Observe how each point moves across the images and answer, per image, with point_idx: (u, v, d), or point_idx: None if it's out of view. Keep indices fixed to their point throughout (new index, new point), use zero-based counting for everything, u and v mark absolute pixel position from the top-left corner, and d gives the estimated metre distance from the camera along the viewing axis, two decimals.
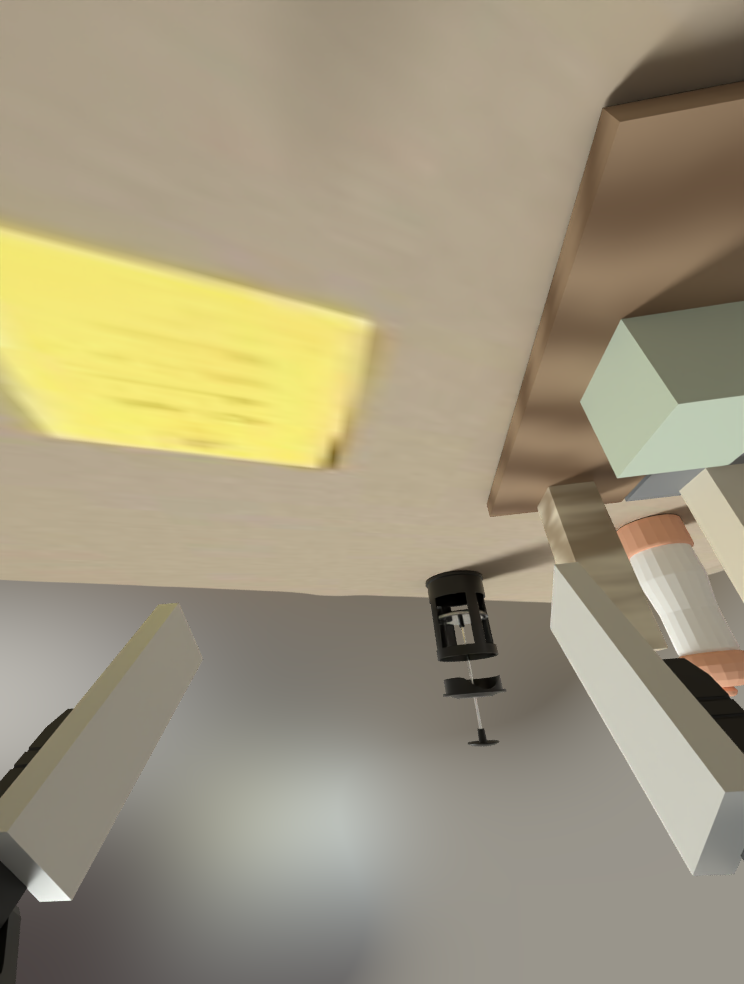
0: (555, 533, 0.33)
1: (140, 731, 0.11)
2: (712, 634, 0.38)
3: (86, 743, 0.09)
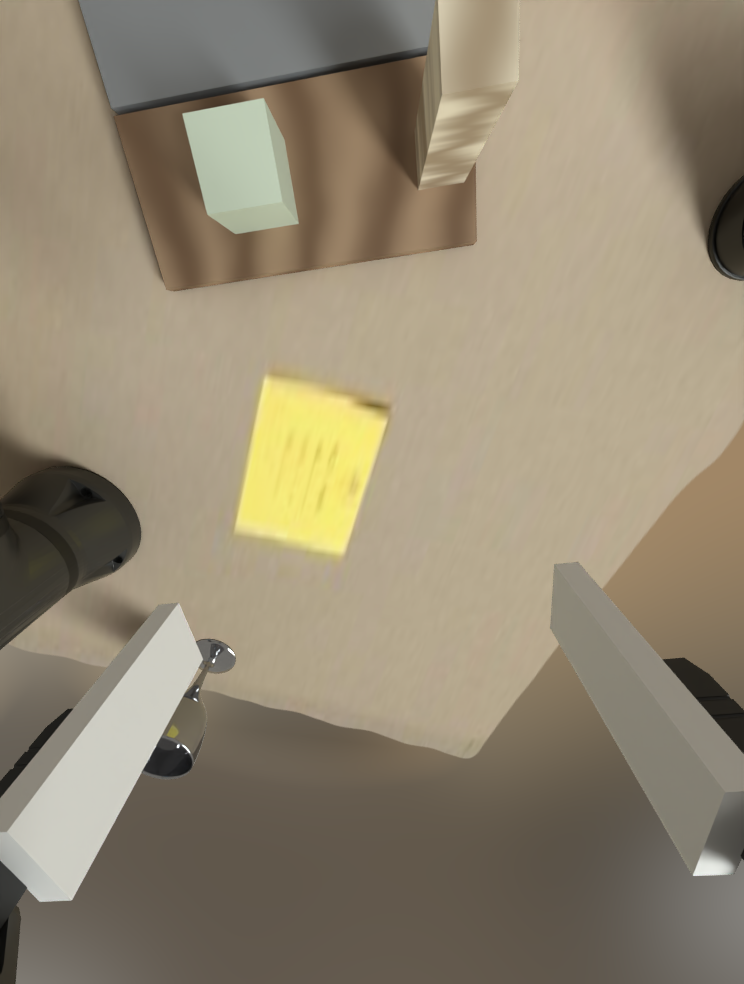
0: (447, 168, 0.29)
1: (140, 730, 0.11)
2: None
3: (86, 743, 0.09)
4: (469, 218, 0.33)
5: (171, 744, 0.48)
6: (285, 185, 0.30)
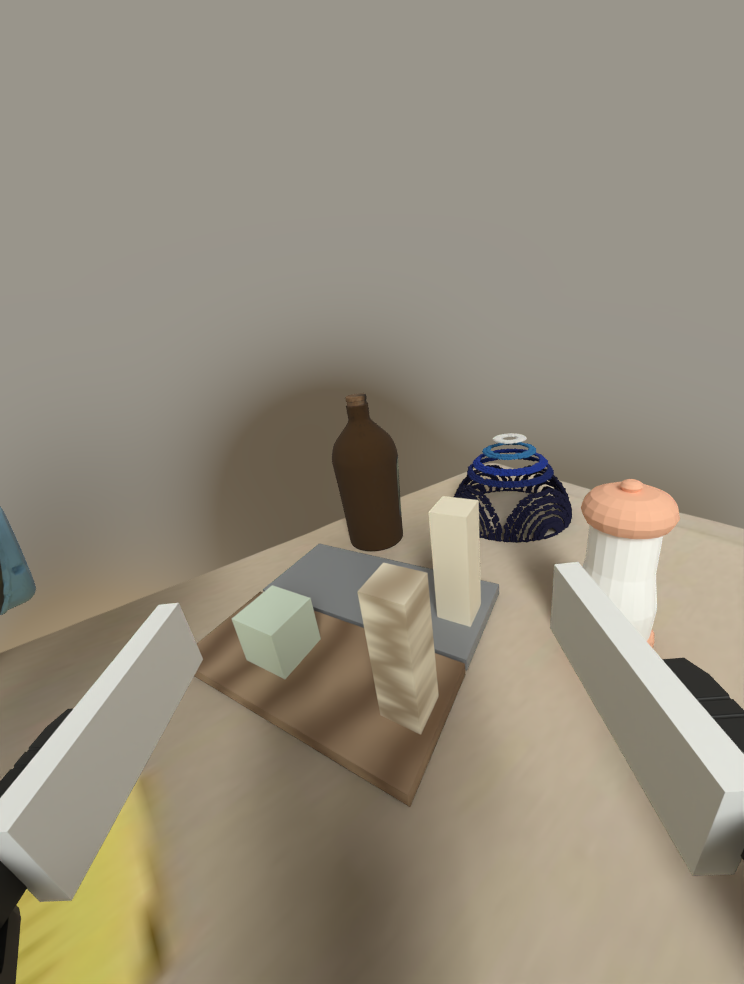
0: (394, 693, 0.31)
1: (140, 731, 0.11)
2: (588, 535, 0.34)
3: (86, 743, 0.09)
4: (411, 767, 0.29)
5: None
6: (289, 642, 0.39)
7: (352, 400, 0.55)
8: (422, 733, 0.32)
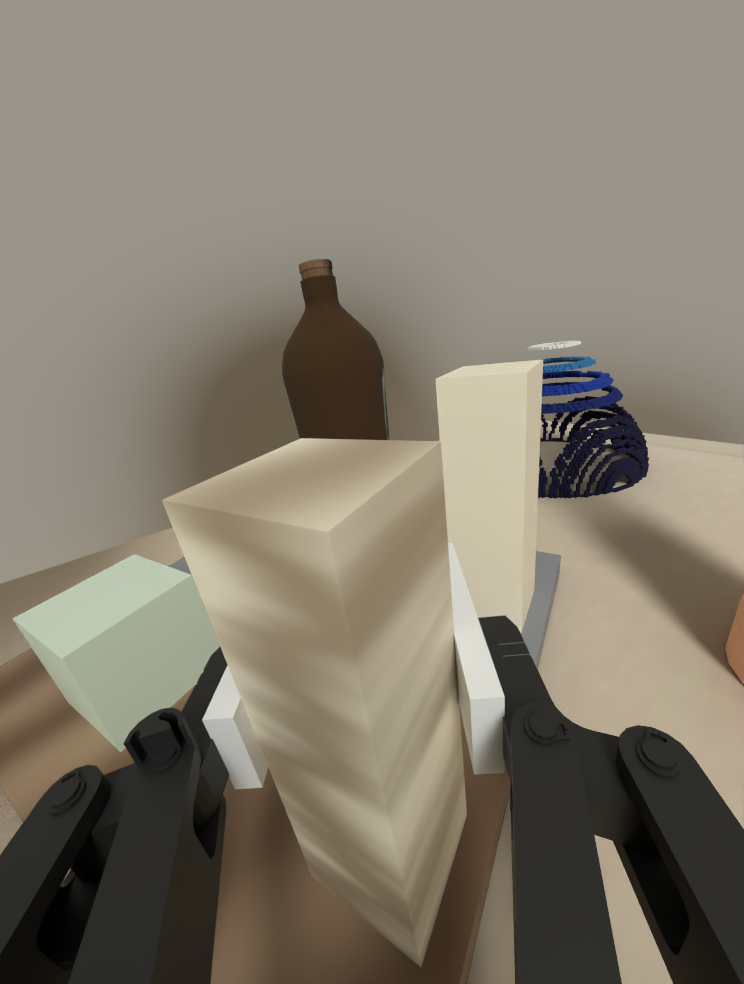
0: (336, 848, 0.10)
1: None
2: None
3: None
4: None
5: None
6: (130, 670, 0.17)
7: (308, 266, 0.34)
8: (426, 961, 0.10)
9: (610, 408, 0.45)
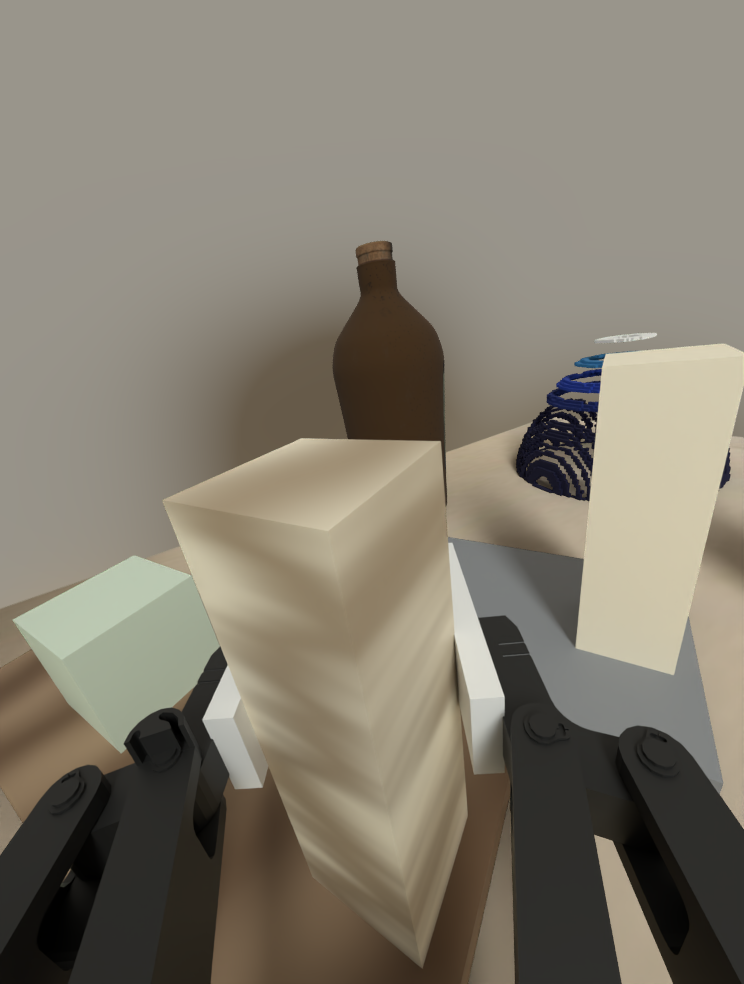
0: (337, 849, 0.10)
1: None
2: None
3: None
4: None
5: None
6: (130, 671, 0.17)
7: (368, 249, 0.31)
8: (427, 962, 0.10)
9: None
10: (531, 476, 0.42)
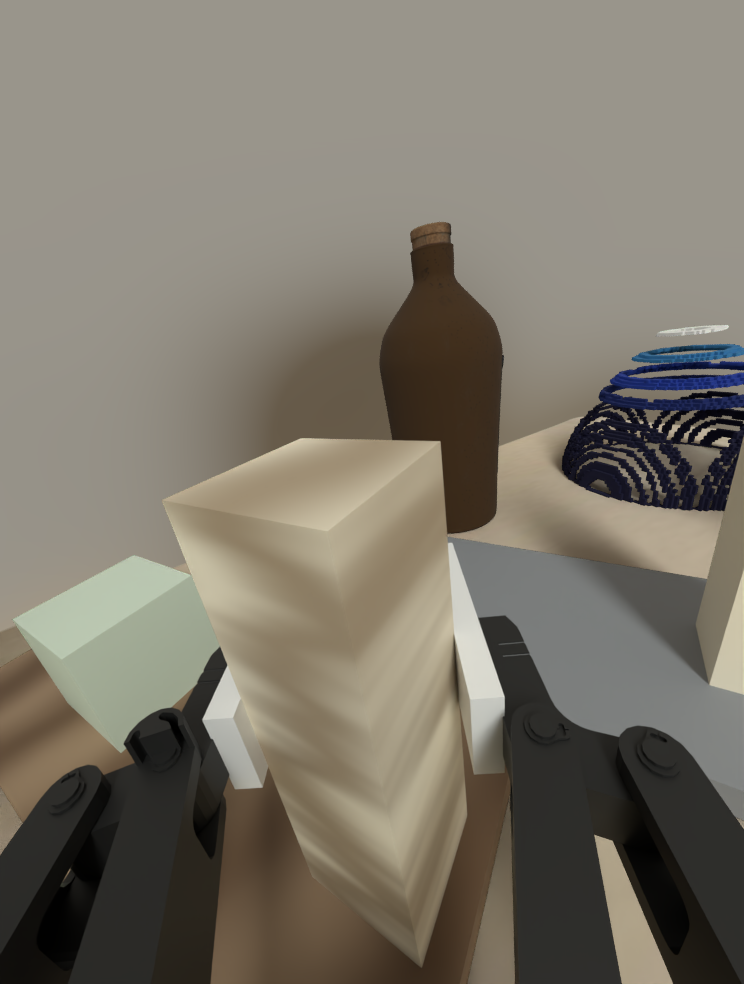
0: (337, 849, 0.10)
1: None
2: None
3: None
4: None
5: None
6: (130, 670, 0.17)
7: (426, 231, 0.28)
8: (426, 962, 0.10)
9: None
10: (584, 479, 0.39)
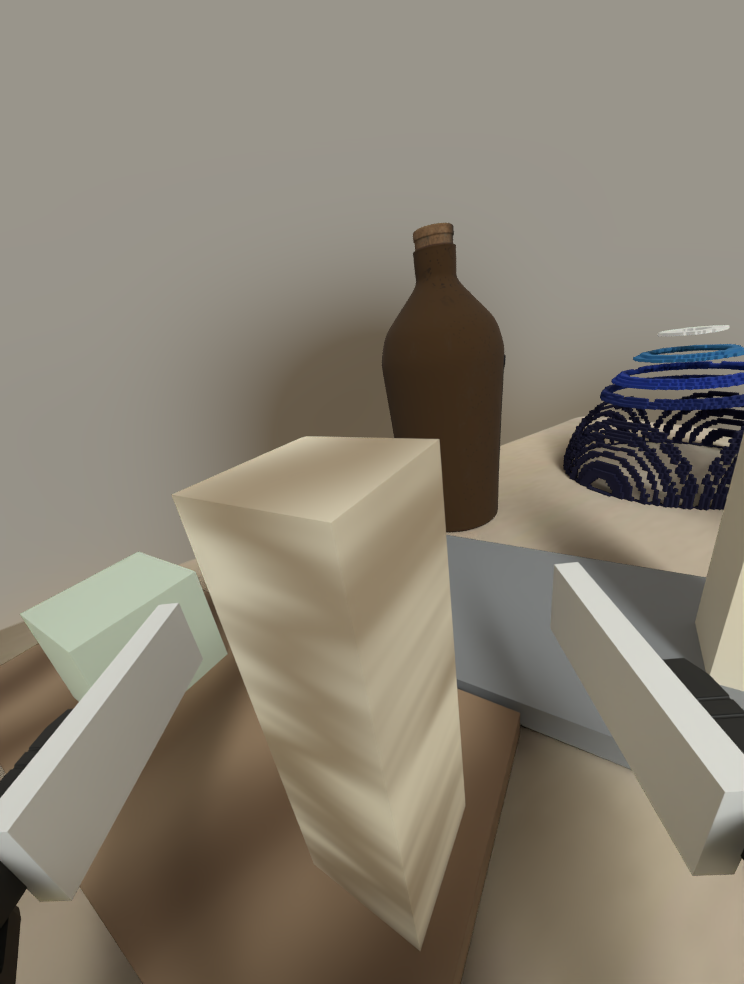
0: (338, 834, 0.10)
1: (140, 730, 0.11)
2: None
3: (86, 743, 0.09)
4: None
5: None
6: None
7: (429, 231, 0.28)
8: (425, 945, 0.11)
9: None
10: (585, 478, 0.39)
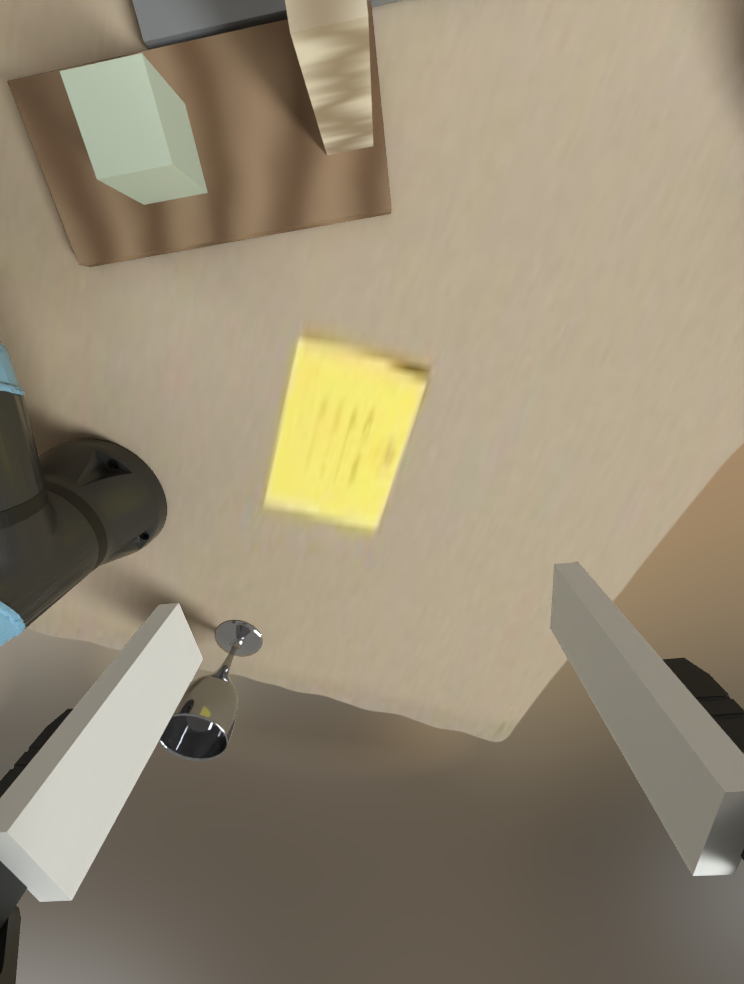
0: (345, 128, 0.28)
1: (140, 730, 0.11)
2: None
3: (86, 743, 0.09)
4: (382, 184, 0.32)
5: (201, 726, 0.47)
6: (181, 149, 0.29)
7: None
8: (374, 143, 0.31)
9: None
10: None
